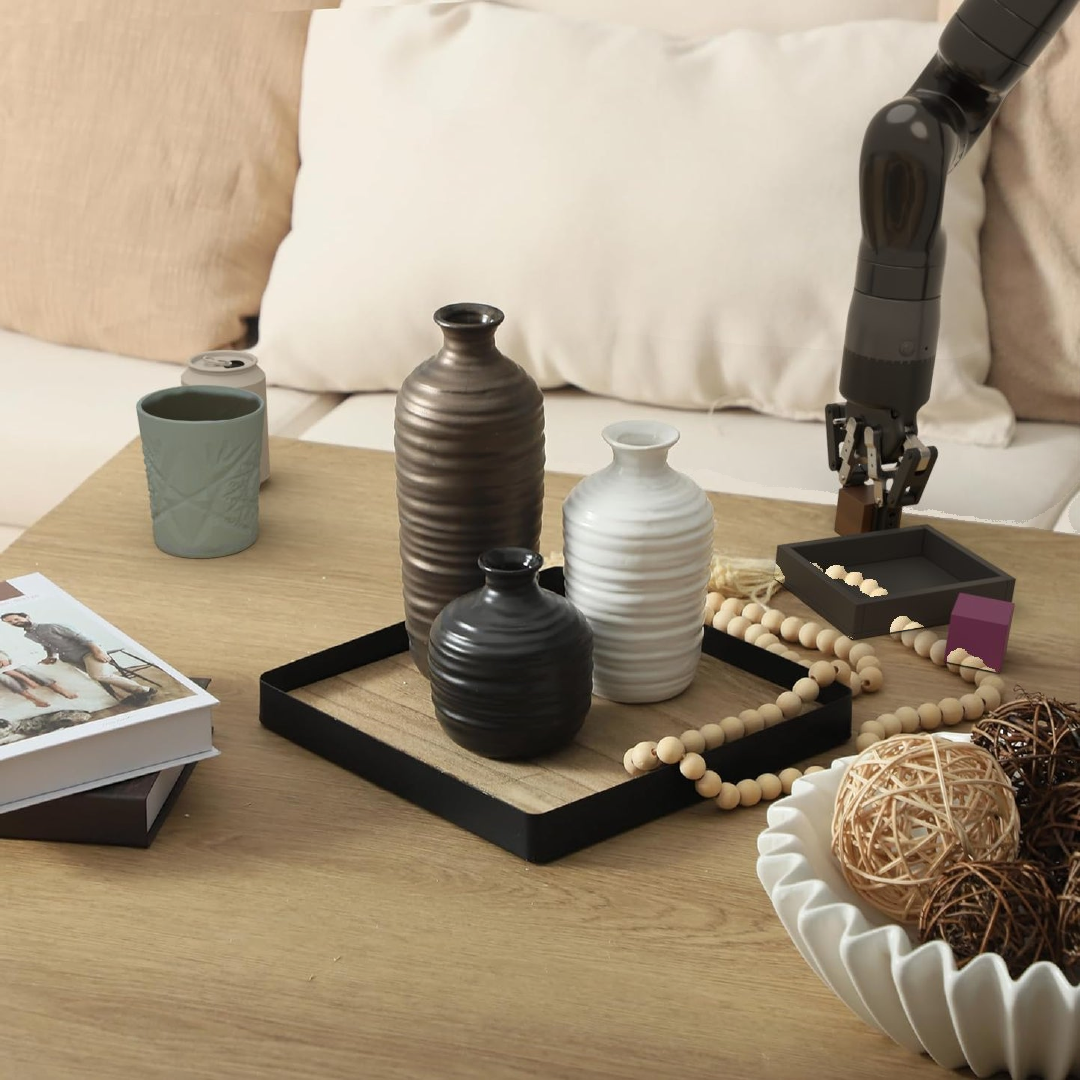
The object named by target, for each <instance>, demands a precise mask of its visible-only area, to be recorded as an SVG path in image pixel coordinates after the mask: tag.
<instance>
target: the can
mask: <svg viewBox="0 0 1080 1080" xmlns="http://www.w3.org/2000/svg"><path fill="white" fill-rule="evenodd" d="M258 363H259V359H258V357H257V356H255V355H254V354H252V353H250V352H247V351H242V350H233V349H231V350H230V349H219V350H215V349H214V350H207V351H203V352H199V353H195V354H193V355H191V356H189V358H188V359H187V360H186V365H187V366H188V367H187V368H186V369H185V370H184V371H183V372H182V374H180V386H190V385H217V386H227V387H235V388H239V389H244V390H247V391H251V392H253V393H255V394H257V395H259V396H260V397H261V398H262V399H263V401H264V403H265V412H264V425H263V432H262V437H263V439H262V453H261V458H260V467H259V469H260V473H261V477H260V486H261V485H262V484H263V483H264V482H265V481H266V480H267V479H268V478H269V477H270V475H271V463H270V444H269V441H270V439H269V421H268V420H269V418H268V400H267V399H268V397H267V396H268V395H267V377H266V376H267V375H266V372H265V371H264V370H263V369H262V368H261V367H260V366H259V365H258Z"/></svg>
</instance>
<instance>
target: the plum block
mask: <svg viewBox="0 0 1080 1080" xmlns="http://www.w3.org/2000/svg"><path fill="white" fill-rule="evenodd" d="M1015 604H1016V603H1015V602H1012V603H1011V602H1006V601H1001V600H996V599H990V598H985V597H980V596H975V595H969V594H964V593H959V595H958V598H957V600H956V603H955V605H954V608H953V610H952V613H951V618H950V623H949V624H948V625H949V626H948V630H947V636H946V637H947V638H946V643H945V649H944V657H943V663H945V664H948V663H947V656H948V655H949V654H950V652H951V651H954V650H956V649H957V648H962V649H965V651H967V653H968V654H970V655H972V656H974V657H979V658H980V659H982V660H983V663H984V664H985V665H986V666H987V667H989V668H992V669H995V671H996V672H998V673H997V674H1001V671H1002V667H1003V664H1004V660H1005V658H1006V654H1007V653H1006V652H1008V651H1007V650H1008V644H1009V638H1010V633H1011V626H1012V621H1013V616H1014V610H1015V606H1016V605H1015Z"/></svg>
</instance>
